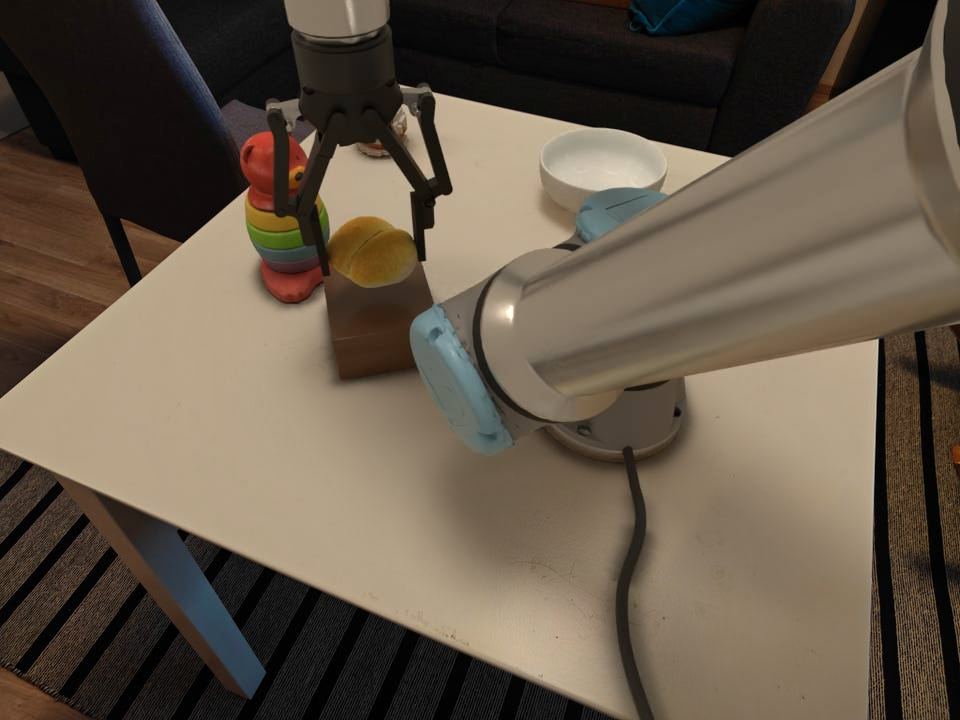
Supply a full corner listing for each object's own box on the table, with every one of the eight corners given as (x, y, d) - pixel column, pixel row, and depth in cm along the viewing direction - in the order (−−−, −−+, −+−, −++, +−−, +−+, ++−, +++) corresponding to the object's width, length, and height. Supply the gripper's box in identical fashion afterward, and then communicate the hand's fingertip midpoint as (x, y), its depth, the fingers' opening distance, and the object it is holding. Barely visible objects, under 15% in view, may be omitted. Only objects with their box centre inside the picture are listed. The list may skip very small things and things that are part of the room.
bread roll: (379, 303, 61) (374, 271, 58) (315, 264, 65) (308, 231, 62) (437, 260, 66) (435, 228, 63) (374, 226, 69) (370, 194, 66)
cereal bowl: (647, 171, 97) (658, 127, 91) (665, 239, 86) (678, 193, 80) (534, 168, 97) (538, 124, 92) (537, 236, 86) (542, 190, 80)
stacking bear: (290, 309, 76) (252, 175, 63) (240, 270, 80) (195, 138, 67) (360, 266, 81) (339, 134, 68) (311, 232, 86) (281, 102, 73)
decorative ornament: (350, 155, 99) (334, 55, 88) (367, 130, 104) (354, 33, 93) (398, 162, 98) (389, 61, 87) (413, 136, 103) (406, 38, 92)
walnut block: (441, 361, 71) (440, 322, 66) (340, 379, 69) (331, 340, 64) (422, 295, 78) (419, 256, 73) (330, 310, 76) (321, 271, 71)
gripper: (468, -5, 53) (468, 223, 70) (191, 17, 49) (262, 253, 66) (492, 31, 48) (486, 267, 65) (187, 59, 44) (264, 302, 61)
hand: (373, 260), depth 65 cm, fingers closed on bread roll, 9 cm apart
